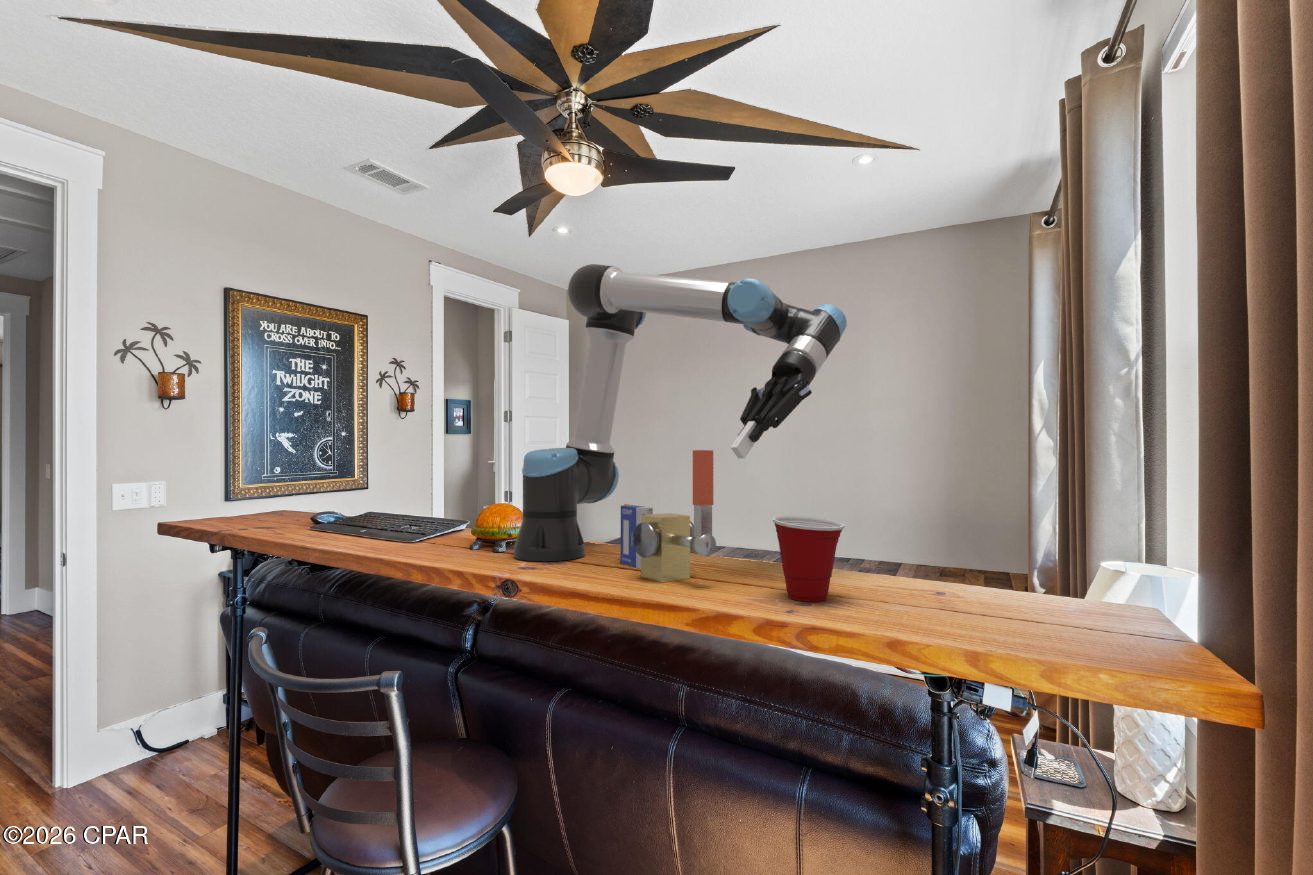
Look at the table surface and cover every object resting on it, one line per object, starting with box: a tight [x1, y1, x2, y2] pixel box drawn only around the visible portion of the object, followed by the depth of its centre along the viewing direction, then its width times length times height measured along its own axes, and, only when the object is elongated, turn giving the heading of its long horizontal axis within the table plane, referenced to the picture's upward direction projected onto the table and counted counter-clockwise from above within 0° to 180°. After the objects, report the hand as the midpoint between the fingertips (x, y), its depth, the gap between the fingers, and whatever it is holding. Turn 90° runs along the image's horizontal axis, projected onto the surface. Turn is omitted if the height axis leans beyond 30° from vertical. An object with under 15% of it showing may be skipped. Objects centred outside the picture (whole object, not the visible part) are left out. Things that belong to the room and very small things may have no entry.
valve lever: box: [690, 449, 717, 557], centre depth 95 cm, size 2×4×17 cm, turn 127°
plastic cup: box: [772, 515, 846, 603], centre depth 88 cm, size 11×11×12 cm
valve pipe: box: [633, 512, 694, 583], centre depth 101 cm, size 11×10×11 cm
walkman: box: [619, 503, 654, 570], centre depth 115 cm, size 8×3×12 cm, turn 35°
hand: (737, 452), depth 99 cm, fingers closed
